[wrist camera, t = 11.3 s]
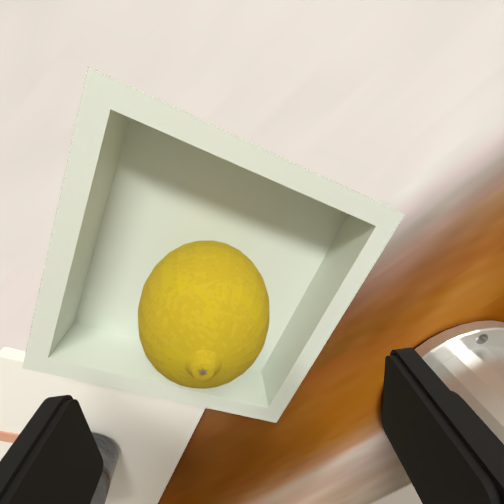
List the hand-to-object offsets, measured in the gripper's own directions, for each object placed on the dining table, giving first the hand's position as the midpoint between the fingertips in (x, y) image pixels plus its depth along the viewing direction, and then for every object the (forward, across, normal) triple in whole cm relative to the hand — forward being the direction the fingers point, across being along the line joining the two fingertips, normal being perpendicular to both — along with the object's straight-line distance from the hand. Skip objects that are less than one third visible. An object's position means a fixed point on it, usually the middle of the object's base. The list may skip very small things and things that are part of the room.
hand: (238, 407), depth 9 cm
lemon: (+9, +1, -1) cm, 9 cm away
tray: (+9, +1, -1) cm, 9 cm away
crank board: (+9, +12, +11) cm, 19 cm away
